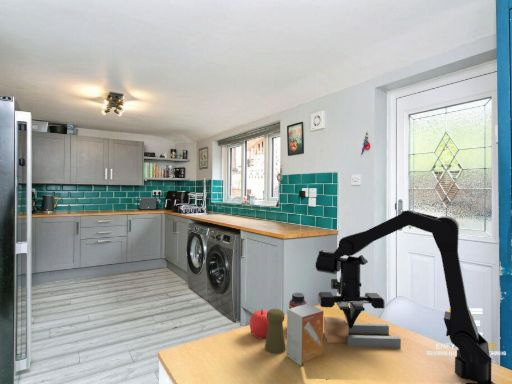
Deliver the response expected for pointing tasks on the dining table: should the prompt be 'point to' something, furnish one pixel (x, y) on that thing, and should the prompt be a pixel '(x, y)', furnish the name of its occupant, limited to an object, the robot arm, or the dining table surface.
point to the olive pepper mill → (275, 332)
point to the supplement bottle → (297, 300)
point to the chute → (372, 340)
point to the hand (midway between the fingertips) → (349, 327)
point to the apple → (259, 323)
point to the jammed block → (335, 329)
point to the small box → (304, 333)
